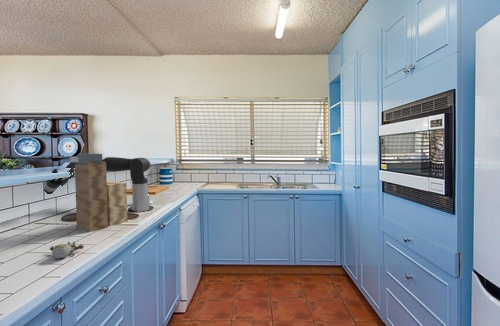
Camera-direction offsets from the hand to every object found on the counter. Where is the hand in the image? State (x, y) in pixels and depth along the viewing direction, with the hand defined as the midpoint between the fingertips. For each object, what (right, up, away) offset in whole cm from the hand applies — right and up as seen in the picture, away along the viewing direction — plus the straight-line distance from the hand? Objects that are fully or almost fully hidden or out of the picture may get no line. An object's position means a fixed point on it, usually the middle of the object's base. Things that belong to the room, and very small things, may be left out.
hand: (65, 169), depth 163 cm
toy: (+29, -32, -47) cm, 64 cm away
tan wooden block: (+26, -28, -1) cm, 38 cm away
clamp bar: (+16, +3, -10) cm, 19 cm away
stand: (+21, -29, -12) cm, 37 cm away
